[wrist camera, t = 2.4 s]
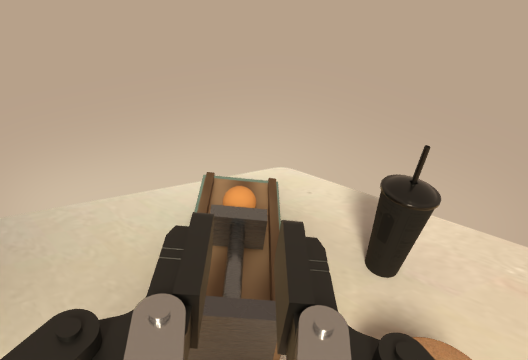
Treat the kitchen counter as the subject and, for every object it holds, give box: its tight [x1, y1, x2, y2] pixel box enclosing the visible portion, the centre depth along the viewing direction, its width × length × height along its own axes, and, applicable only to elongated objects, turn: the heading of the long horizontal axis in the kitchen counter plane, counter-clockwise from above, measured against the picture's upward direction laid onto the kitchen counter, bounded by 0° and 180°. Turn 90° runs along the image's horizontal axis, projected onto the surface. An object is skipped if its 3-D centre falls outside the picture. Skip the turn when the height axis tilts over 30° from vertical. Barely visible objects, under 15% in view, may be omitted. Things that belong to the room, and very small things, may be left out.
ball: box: [223, 186, 256, 208], centre depth 46 cm, size 4×4×4 cm
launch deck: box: [197, 172, 280, 360], centre depth 46 cm, size 10×24×12 cm, turn 0°
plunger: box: [188, 204, 277, 360], centre depth 33 cm, size 6×18×9 cm, turn 0°
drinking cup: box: [365, 145, 441, 278], centre depth 52 cm, size 8×8×20 cm
